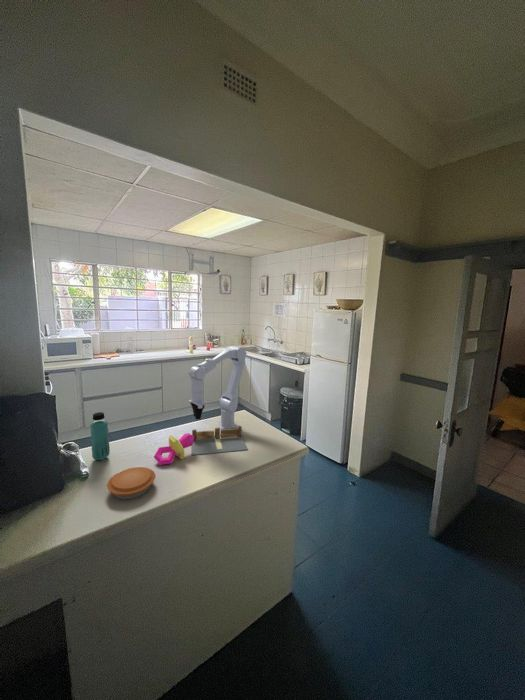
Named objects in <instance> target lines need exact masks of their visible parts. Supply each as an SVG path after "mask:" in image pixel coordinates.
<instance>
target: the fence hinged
mask: <svg viewBox="0 0 525 700" xmlns="http://www.w3.org/2000/svg"><path fill="white" fill-rule="evenodd" d="M191 431H192V432H191V435H193V436H194V440H196V439H197V440H199V439H210V438H214V435H215V429H214V430H213V429H212V430H203V431H197V429H192V430H191Z"/></svg>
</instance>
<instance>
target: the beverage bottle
mask: <svg viewBox="0 0 525 700" xmlns="http://www.w3.org/2000/svg"><path fill="white" fill-rule="evenodd" d="M92 420H93V422H92V423H91V424H90V425H89V426H90V439H91V455H92V456H91V457H92V459H93V460H95V461H98V460H104V459H106V458H107V457H109V456H110V454H111V453H110V451H111V450H110V439H109V437H110V436H109V424H108V421H107V420H106V419H105V413H104V412H103V411H102V412H101V411H100V412H95V413H93V414H92Z"/></svg>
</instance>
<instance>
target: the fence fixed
mask: <svg viewBox="0 0 525 700" xmlns="http://www.w3.org/2000/svg"><path fill="white" fill-rule="evenodd" d="M241 434H242V426H241V425H238V426H237V428H233V429H221V427H215V428H214V435H215V439H219V438H220V437H221V438H222V437H233V436H238V437H241Z"/></svg>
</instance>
